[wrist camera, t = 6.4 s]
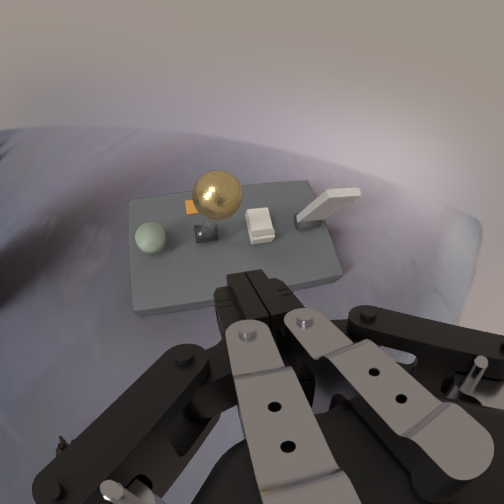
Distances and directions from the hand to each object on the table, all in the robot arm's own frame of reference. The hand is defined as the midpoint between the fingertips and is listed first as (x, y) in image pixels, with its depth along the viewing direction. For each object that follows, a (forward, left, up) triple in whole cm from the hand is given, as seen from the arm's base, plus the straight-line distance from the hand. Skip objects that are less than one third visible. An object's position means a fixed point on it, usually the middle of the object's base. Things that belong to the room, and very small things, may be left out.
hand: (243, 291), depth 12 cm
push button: (-13, +2, -16) cm, 21 cm away
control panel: (-7, +9, -19) cm, 23 cm away
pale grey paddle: (-2, +16, -15) cm, 22 cm away
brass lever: (-9, +7, -15) cm, 19 cm away
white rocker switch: (-5, +12, -15) cm, 20 cm away
